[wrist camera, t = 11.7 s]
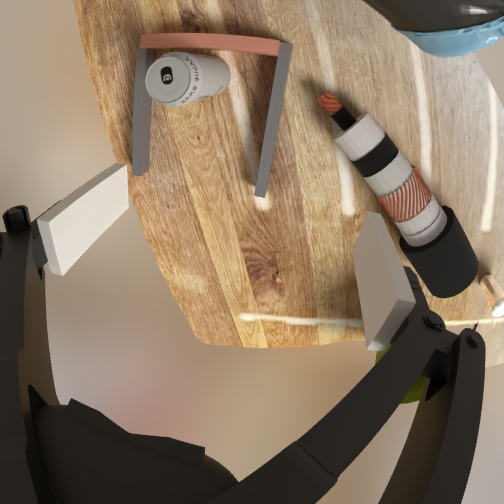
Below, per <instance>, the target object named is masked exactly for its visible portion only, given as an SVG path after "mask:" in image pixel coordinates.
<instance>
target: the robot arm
mask: <svg viewBox="0 0 504 504" xmlns="http://www.w3.org/2000/svg"><path fill="white" fill-rule="evenodd" d="M362 1H364V2H365V3H366V4H368V5H369V6H370V7H372V8H373V9H374V10H375V11H377V12H378V13H379V14H380V15H382V16H383V17H384V18H385V19H387V20H388V21H389V22H390V23H391V26H392V27H393V28H394V29H395V30H396V31H398V32H400V33H402V34H404V35H405V36H406V37H408V38H409V39H410V40H411V41H412V42H413V43H414V44H416V45H417V46H418V47H419V48H420V49H421V50H423V51H424V52H426V53H429V54H431V55H434V56H437V57H446V58H447V57H458V56H463V55H467V54H470V53H474V52H476V51H479V50H482V49H484V48H486V47H488V46H490V45H492V44H494V43H495V42H497V41H498V37H500V36H504V0H362ZM128 208H129V205H128V184H127V165H126V164H118V163H115V164H114V165H112V166H111V167H109V168H108V169H106V170H104V171H103V172H101V173H100V174H98V175H97V176H95V177H94V178H92V179H91V180H89V181H88V182H87V183H85V184H84V185H82V186H81V187H79V188H78V189H76V190H75V191H74V192H72V193H71V194H69V195H68V196H67V197H65V198H64V199H63V200H60V201H58V202H57V203H56V204H54V205H53V206H52V208H51V207H50V208H49V209H48V210H47V211H46V212H44V213H43V214H41V215H40V216H39V217H38V218H36V219H35V220H34V221H33V222H31V221H30V217H29V212H28V208H27V207H26V206H24V205H20V206H15V207H12V208H10V209H9V210H7V211H6V212H5V213H4V214H3V216H2V217H3V220H4V224H5V228H6V231H7V232H0V504H315V503H316V502H317V501H319V500H320V499H321V498H322V497H323V496H324V495H325V494H326V493H327V492H328V491H329V490H330V489H331V488H332V487H333V486H334V485H335V483H336V482H337V480H338V477H339V476H340V474H341V473H342V472H343V471H344V470H345V469H346V468H347V467H348V466H349V465H350V464H351V463H352V461H354V459H355V458H356V457H357V456H358V455H359V454H360V452H362V451H363V449H364V448H365V447H366V446H367V445H368V444H369V442H370V441H371V440H372V439H373V437H374V436H375V435H376V434H377V433H378V432H379V430H380V429H381V428H382V427H383V425H384V424H385V423H386V422H387V420H388V419H389V418H390V416H391V415H392V414H393V412H394V411H395V410H396V408H397V407H398V406H399V404H400V403H401V401H402V400H403V399H404V397H405V396H406V394H407V393H408V391H409V390H410V389H411V387H412V386H413V384H414V383H415V381H416V380H417V378H418V376H419V375H422V376H424V377H426V380H425V384H424V387H423V391H422V394H421V398H420V401H419V404H418V408H417V411H416V414H415V417H414V420H413V423H412V426H411V429H410V432H409V434H408V437H407V440H406V443H405V445H404V448H403V450H402V453H401V455H400V458H399V460H398V462H397V465H396V467H395V469H394V472H393V474H392V476H391V478H390V481H389V483H388V485H387V487H386V489H385V491H384V493H383V495H382V497H381V499H380V501H379V503H378V504H461V502H462V499H463V495H464V492H465V489H466V485H467V481H468V478H469V474H470V470H471V465H472V461H473V457H474V453H475V448H476V442H477V437H478V431H479V425H480V418H481V410H482V401H483V391H484V377H485V350H486V347H485V342H484V340H483V338H482V336H481V335H480V334H479V333H478V332H476V331H475V330H473V329H470V328H465V329H464V330H462V332H461V333H460V334H459V335H457V334H454V333H452V332H450V331H447V330H446V329H445V328H446V327H445V323H444V321H443V320H442V318H441V317H440V316H439V315H438V314H436V313H435V312H433V311H431V310H430V309H429V306H428V304H427V301H426V298H425V296H424V293H423V291H422V288H421V285H419V281H418V278H417V276H416V274H415V273H414V272H413V271H412V269H411V268H410V267H406V266H403V265H402V263H401V260H400V258H399V255H398V253H397V250H396V248H395V245H394V243H393V241H392V238H391V236H390V234H389V231H388V229H387V227H386V224H385V222H384V220H383V218H382V216H381V214H378V213H375V212H371V211H367V214H366V217H365V219H364V222H363V225H362V228H361V230H360V233H359V236H358V238H357V241H356V244H355V246H354V249H353V252H352V259H353V264H354V269H355V275H356V280H357V286H358V292H359V298H360V304H361V311H362V318H363V325H364V332H365V340H366V348H367V349H368V350H375V351H383V352H384V350H385V349H386V347H387V346H388V345H389V343H391V347H390V348H389V350H388V351H387V352H386V353H385V354H384V355H383V357H382V358H381V359H380V360H379V361H378V362H377V363H376V364H375V366H374V367H373V368H372V369H371V370H370V371H369V372H368V373H367V374H366V375H365V376H364V378H363V379H362V380H361V381H360V382H359V383H358V384H357V385H356V386H355V387H354V388H353V389H352V390H351V391H350V392H349V393H348V394H347V395H346V396H345V397H344V398H343V399H342V400H341V401H340V402H339V403H338V404H337V405H336V406H335V407H334V408H333V409H332V410H331V411H330V412H329V413H328V414H327V415H326V416H324V417H323V418H322V419H321V420H320V421H319V422H318V423H317V424H316V425H314V426H313V427H312V428H311V429H310V430H309V431H308V432H307V433H305V434H304V435H303V436H302V437H301V438H299V439H298V440H297V441H295V442H293V443H292V444H290V445H289V446H288V447H286V448H285V449H284V450H282V451H281V452H280V453H278V454H277V455H276V456H275V457H273V458H272V459H271V460H270V461H268V462H267V463H265V464H264V465H263V466H261V467H260V468H259V469H257V470H256V471H254V472H253V473H252V474H250V475H249V476H247V477H246V478H244V480H242V481H240V482H238V481H237V479H236V478H235V477H234V476H233V474H231V472H230V471H229V470H228V469H226V468H225V467H224V466H223V465H221V464H220V463H219V462H217V461H216V460H214V459H213V458H210V457H209V456H207V455H205V447H201V446H197V445H194V444H190V443H186V442H183V441H179V440H176V439H173V438H169V437H159V436H149V435H140V434H132V433H128V432H127V431H125V430H124V429H122V428H121V427H120V426H118V425H117V424H115V423H114V422H113V421H111V420H110V419H109V418H107V417H106V416H105V415H103V414H102V413H101V412H100V411H97V410H95V409H93V408H91V407H89V406H87V405H84V404H82V403H80V402H78V401H76V400H74V399H72V398H71V400H70V401H69V404H68V405H60V403H59V400H58V398H57V395H56V391H55V386H54V380H53V374H52V367H51V360H50V352H49V343H48V333H47V320H46V300H45V271H44V268H43V266H44V264H46V263H47V262H48V264H49V267H50V271H51V272H52V273H55V274H58V275H61V276H63V275H64V274H65V273H66V272H67V271H68V269H69V268H70V267H71V266H72V265H73V264H74V263H75V262H76V261H77V259H78V258H79V257H80V256H81V255H82V254H83V253H84V252H85V251H86V250H87V249H88V248H89V247H90V246H91V245H92V244H93V243H94V242H95V241H96V240H97V239H98V238H99V237H100V235H101V234H103V233H104V232H105V230H107V229H108V228H109V227H110V226H111V225H112V224H113V223H114V222H115V221H116V220H117V219H118V218H119V217H120V216H121V215H122V214H123V213H124V212H125V211H126V210H127V209H128Z"/></svg>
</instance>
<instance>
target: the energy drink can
mask: <svg viewBox="0 0 504 504" xmlns="http://www.w3.org/2000/svg"><path fill="white" fill-rule="evenodd" d="M230 79H231V72H230V68H229V66H228V65H227V63H226V62H225V61H224V60H222V59H221V58H219V57H216V56H210V55H203V54H195V53H187V52H170V53H167V54H164V55H163V56H161V57H160V58H158V59H157V60H156V61H155V62H154V63H153V64H152V65H151V66H150V68H149V69H148V71H147V74H146V79H145V85H146V89H147V91H148V93H149V95H150V96H151V97H152V98H153V99H154V100H156V101H158V102H159V103H161V104H162V105H165V106H168V107H179V106H182V105H186V104H189V103H192V102H195V101H198V100H201V99H205V98H208V97H211V96H215V95H218V94H220V93H221V92H223V91H224V90H225V89H226V88H227V86H228V85H229V82H230Z"/></svg>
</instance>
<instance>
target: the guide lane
mask: <svg viewBox="0 0 504 504" xmlns="http://www.w3.org/2000/svg"><path fill="white" fill-rule="evenodd" d="M156 49H205V50H221V51H232V52H242V53H251V54H259V55H266V56H273V57H278V58H277V64H276V70H275V76H274V81H273V87H272V93H271V99H270V105H269V111H268V116H267V122H266V128H265V134H264V140H263V146H262V152H261V158H260V164H259V170H258V176H257V182H256V188H255V194H254V196H258V197H263V198H265V195H266V191H267V187H268V181H269V176H270V171H271V165H272V160H273V154H274V149H275V143H276V138H277V132H278V127H279V121H280V116H281V110H282V105H283V99H284V94H285V88H286V83H287V77H288V72H289V66H290V61H291V55H292V49H293V45H292V44H289V43H283V42H280V41H279V40H273V39H266V38H258V37H249V36H239V35H227V34H209V33H159V34H141V36H139V41H138V50H137V60H136V71H135V84H134V101H133V131H132V169H133V175H136V176H142V175H143V174H144V173H146V172H147V171H148V170H149V147H150V119H151V101H152V97H151V96H150V95H149V93H148V91H147V89H146V85H145V79H146V74H147V71H148V69H149V68H150V66H151V65H152V64H153V63H154V62H155V56H156Z"/></svg>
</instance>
